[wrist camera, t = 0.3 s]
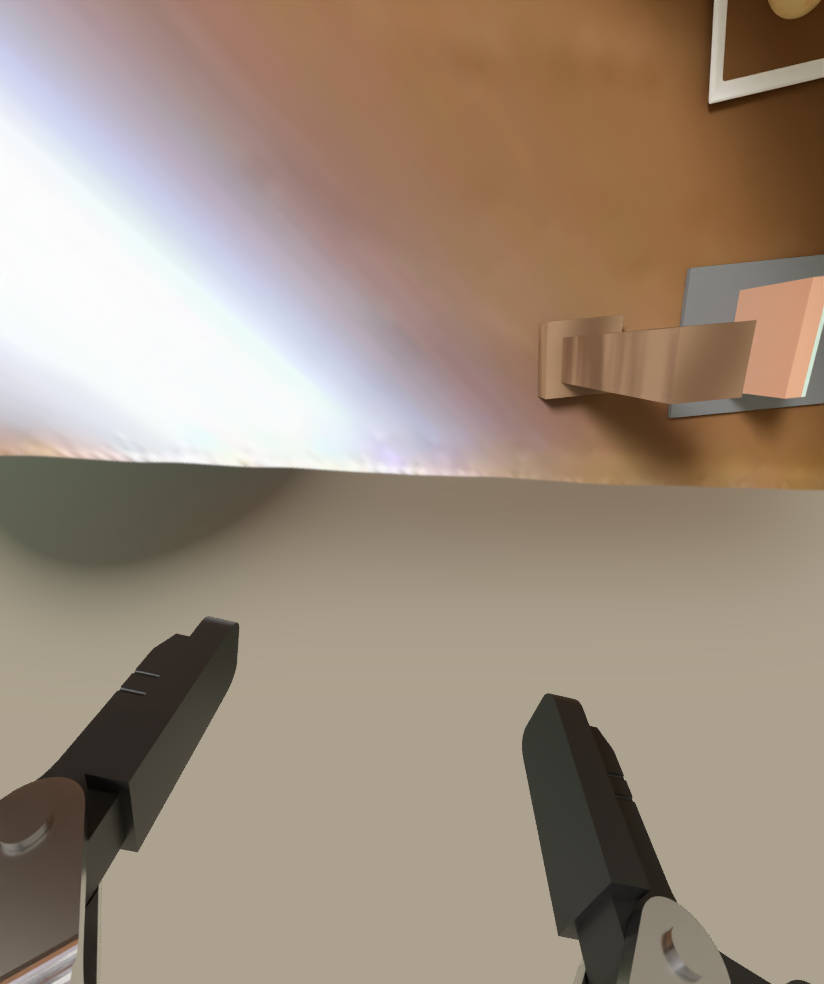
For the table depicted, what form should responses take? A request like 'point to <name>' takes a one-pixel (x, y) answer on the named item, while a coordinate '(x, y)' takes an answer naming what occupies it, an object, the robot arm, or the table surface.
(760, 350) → the tile
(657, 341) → the wooden pillar stand
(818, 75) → the dessert
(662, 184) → the table surface
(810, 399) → the mat
